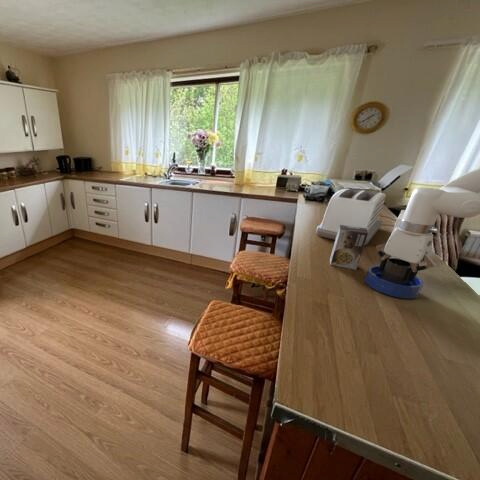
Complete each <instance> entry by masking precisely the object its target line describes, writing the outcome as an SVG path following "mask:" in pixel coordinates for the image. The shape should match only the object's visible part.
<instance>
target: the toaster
mask: <svg viewBox="0 0 480 480" xmlns="http://www.w3.org/2000/svg"><path fill="white" fill-rule="evenodd" d="M386 196H387V194H386V193H385V192H373V191H367V190H363V189H362V190H359V189H358V190H357V189H352V188H342V189H340V190H338V191H336V192H335V193H334V194H333V195H332V196H331V198H330V199H329V202H328V204H327V207H326V209H325V211H324V212H325V213H324V215H323V217H322V222H321V223H319V225H317V227H316V229H315V233H316V235H317V236H319V237H321V238H325V239H329V240H333V241H335V240H336V236H337V233H338V229H339V226H340V225H345V226H353V227H360V228H366V229H367V232H368V236H367V239H366V242H365V245H364V246H366V245H368V244H369V242H370V241H371V240H372V238H374V236H375V235H376V233H377V232H378V230H380V228H381V226H382V220H381V219H380V216H381V214H382V211H383V207H384V204H385V200H386Z"/></svg>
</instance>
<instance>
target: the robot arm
mask: <svg viewBox="0 0 480 480" xmlns="http://www.w3.org/2000/svg"><path fill="white" fill-rule="evenodd" d="M404 210H405V213H404V215H403V218H402V220H401V223H400V225H399V227H396V229H395V230H394V231H393V230H392V231H393V233H392V232H391V233H392V234H390V236H389V238H388V240H387V242H385V243H381V244H379V245H376V246H375V249H376V251H377V253H378V255H379V257H380V260H381V261H380V263H379V265H378V266H379V267H380V271H383V269H384V267H385V264H386V262H387V259H388V258H390V257H391V256H392V257H395V258H398V259H401V260H404V261H407V262H410V264H411V268H412V269H411V270H410V271H409V272H408V274H407V276H406V279H405V281H407V282H408V281H411V280H414V279H415V277H416V276H417V275H418V273H419V272H420V271H424V270H427V269H431V268H434V267H436V265H437V264H436V263H435V262H434V261H433V259H432V258H431V257H430V252H431V250H432V249H431V248H432V244H433V240H434V234H433V233H435V234H437V233H438V232H439V228H436V227H435V226H436V225H435V224H436V221H437V219H438V216H439V215H445V216H450V217H454V218H460V219H462V218H463V219H466V218H467V219H468V218H475V217H477V216H480V167H479V168H476V169H472V170H471V171H468V172H466V173H464V174H462V175H460V176H458V177H457V178H455V179H452V180H451V181H449V182H447V183H446V184H444V185H443V186H441V187H439V188H434V187H416V188H415V189H414V190H413V191H412V193H411V195H410V198H409V199H408V203H407V205H406V208H405V209H404ZM421 263H426V264H424V265H421Z"/></svg>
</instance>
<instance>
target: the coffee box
mask: <svg viewBox="0 0 480 480" xmlns="http://www.w3.org/2000/svg"><path fill="white" fill-rule="evenodd" d="M367 236H368V232H367V229H366V228H360V227H353V226H345V225H340V226H339V229H338V233H337V236H336V240H334V244H333V246H332V250H331V255H330V258H329V265H330V266H333V267H339V268H344V269H348V270H354V271H357V269H358V265H359V263H360V259H361V257H362V253H363V250H364V248H365V246H366V245H365V242H366V239H367Z"/></svg>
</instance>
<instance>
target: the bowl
mask: <svg viewBox="0 0 480 480" xmlns="http://www.w3.org/2000/svg"><path fill="white" fill-rule="evenodd" d="M379 266H380V265H372V266H369V267H368V269H367V271H366V274H365V276H364V283H366V284H367V286H369V287H370V288H372V289H373V290H376V291H377V292H380V293H382V294H385V295H388V296H390V297H395V298H399V299H410V300H411V299H416V298H418V297H419V295H420V293H421V291H422V289H423V287H424V284H425V283H424V281H423V280H422V279H421V278H420V277H419V276H417V275H416V277H415V279H414V280H411V281H408V282H407V283H406V285H400V284H395V283H392V282H389V281H386V280H384V279H381V278H380V277H381V274H382V272H383V271H380V267H379Z"/></svg>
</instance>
